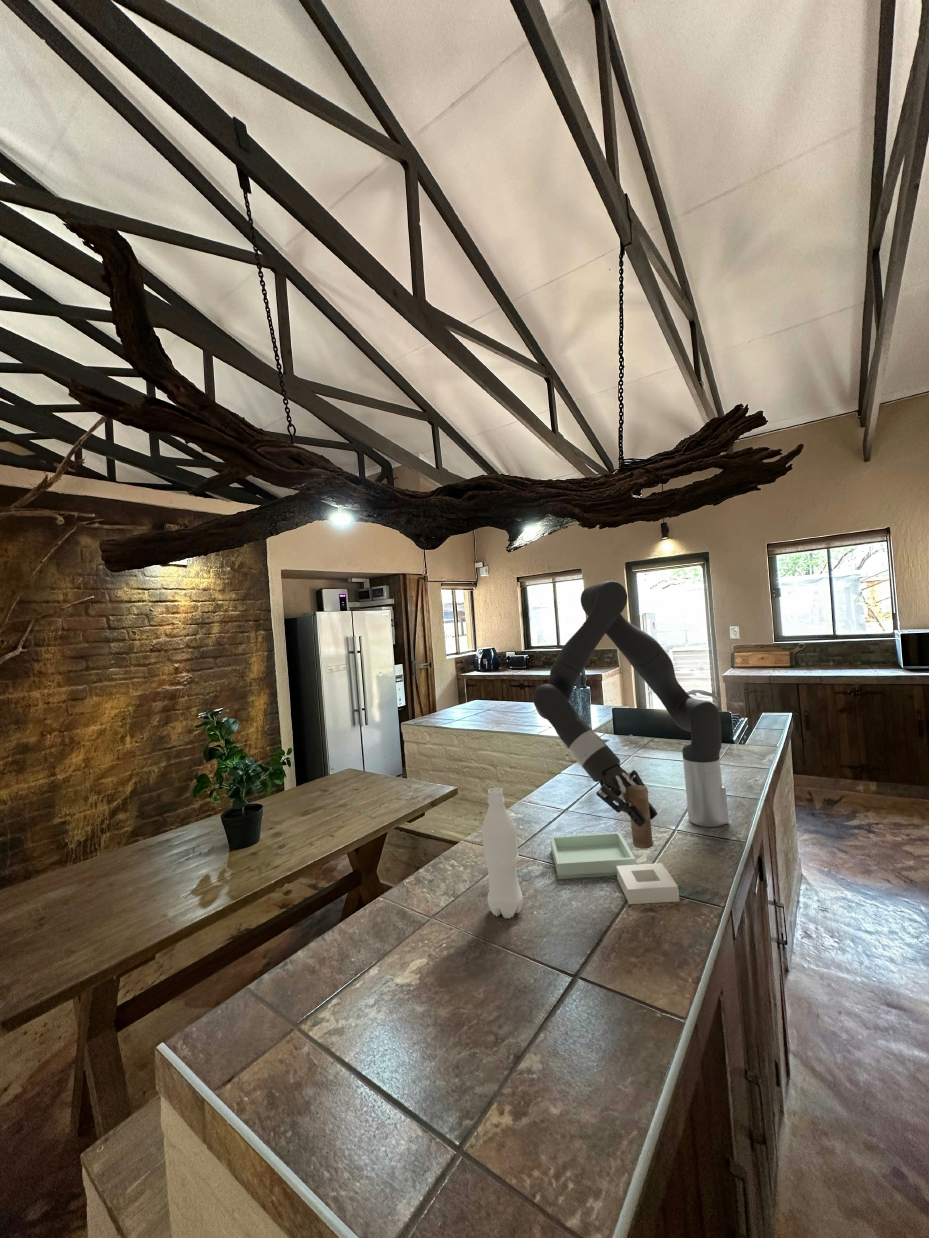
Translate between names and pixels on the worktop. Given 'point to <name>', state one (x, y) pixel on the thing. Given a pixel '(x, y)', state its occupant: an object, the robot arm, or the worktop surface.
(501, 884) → the water bottle
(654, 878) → the dowel block
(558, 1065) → the worktop surface
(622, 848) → the tray
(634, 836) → the dowel
